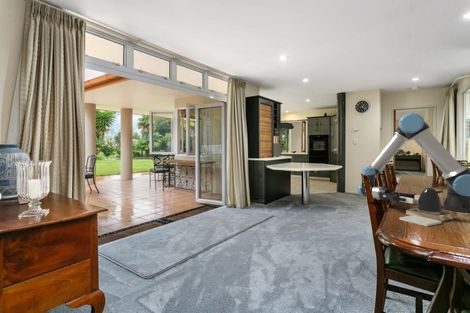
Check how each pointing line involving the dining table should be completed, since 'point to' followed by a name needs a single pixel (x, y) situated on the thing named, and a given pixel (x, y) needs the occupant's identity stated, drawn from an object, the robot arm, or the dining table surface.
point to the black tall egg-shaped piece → (429, 202)
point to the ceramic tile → (420, 220)
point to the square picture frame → (441, 217)
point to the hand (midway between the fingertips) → (420, 200)
